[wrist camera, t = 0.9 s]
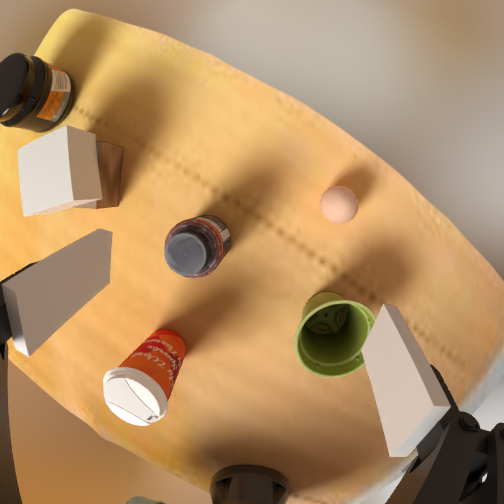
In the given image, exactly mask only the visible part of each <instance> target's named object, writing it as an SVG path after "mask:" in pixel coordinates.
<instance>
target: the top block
mask: <svg viewBox="0 0 504 504" xmlns="http://www.w3.org/2000/svg"><path fill="white" fill-rule="evenodd" d="M18 165H19V179H20V190H21V199H22V207H23V215H24V217H25V216H32V215H40V214H47V213H55V212H58V211H61V210H65V209H68V208H71V207H75V206H78V205H82V204H85V203H89V202H93V201H96V200H100V199H103V198H102V191H101V184H100V176H99V168H98V159H97V149H96V137H95V134H94V133H90V132H87V131H84V130H80V129H77V128H74V127H70V126H65V127H62V128H60V129H58V130H56V131H53V132H51V133H49V134H47V135H45V136H43V137H41V138H39V139H37V140H35V141H33V142H31V143H29V144H27V145H25V146H23V147H21V148H19V149H18Z"/></svg>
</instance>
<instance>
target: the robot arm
mask: <svg viewBox="0 0 504 504" xmlns="http://www.w3.org/2000/svg"><path fill="white" fill-rule="evenodd" d="M111 246H112V232H110V231H107V230H103V229H98V230H96V231H94V232H92V233H90V234H88V235H86V236H84V237H82V238H81V239H79V240H77V241H75V242H73V243H71V244H69V245H68V246H66V247H64V248H62V249H60V250H59V251H57V252H55V253H53V254H51V255H50V256H48V257H46V258H44V259H43V260H41V261H38V262H35V263H31V264H29V265H27V266H25V267H24V268H22V270H19V271H17V272H15V274H12V275H10V276H9V277H7V278H5V279H4V280H2V281H1V282H0V504H22V501H21V496H20V492H19V488H18V483H17V478H16V473H15V467H14V460H13V454H12V446H11V438H10V428H9V414H8V390H7V389H8V388H7V372H8V370H7V368H8V345H7V340H8V339H10V338H11V337H12V338H13V342H14V346H15V349H17V350H18V351H20V352H21V353H23V354H25V355H26V356H28V357H30V356H31V355H32V354H33V353H34V352H35V351H36V350H37V349H38V348H39V347H40V346H41V345H42V344H43V343H44V342H45V341H46V340H47V339H48V338H49V337H50V336H51V335H52V334H53V333H55V332H56V331H57V330H58V329H59V328H60V327H61V326H62V325H63V324H64V323H65V322H66V321H67V320H69V319H70V318H71V317H72V316H73V315H74V314H75V313H76V312H77V311H78V310H79V309H81V308H82V307H83V306H84V305H85V304H86V303H87V302H88V301H90V300H91V299H92V298H93V297H94V296H95V295H96V294H97V293H99V292H100V291H101V290H102V289H103V288H104V287H106V286H107V285H108V284H109V283H110V264H111ZM361 352H362V355H363V358H364V362H365V365H366V368H367V372H368V375H369V379H370V382H371V386H372V389H373V393H374V397H375V400H376V404H377V408H378V411H379V415H380V419H381V423H382V427H383V431H384V435H385V439H386V443H387V448H388V452H389V456H390V457H407V456H408V455H409V454H410V453H411V452H412V451H413V450H414V449H415V448H417V451H418V454H419V455H418V456H417V457H416V458H415V459H414V460H413V461H412V462H411V463H410V464H409V465H407V466H406V467H405V468H404V469H403V470H402V472H403V473H404V472H405V471H406V470H407V471H406V473H405V475H404V476H403V478H402V479H401V481H400V483H399V484H398V486H397V487H396V489H395V490H394V492H393V493H392V495H391V496H390V498H389V499H388V501H387V502H386V503H385V504H504V423H498V424H497V425H496V426H495V427H494V428H493V429H492V430H491V431H486V430H483V429H480V426H479V423H478V422H477V420H476V419H475V418H474V417H473V416H472V415H470V414H468V413H466V412H461V411H459V409H458V407H457V405H456V403H455V401H454V399H453V397H452V395H451V393H450V391H449V390H448V387H447V386H446V384H445V383H444V380H443V378H442V376H441V374H440V373H439V372H438V371H437V369H436V368H435V367H434V366H433V365H430V364H429V362H428V361H427V359H426V357H425V355H424V353H423V351H422V350H421V348H420V346H419V344H418V342H417V341H416V339H415V337H414V335H413V334H412V332H411V330H410V328H409V327H408V325H407V323H406V322H405V320H404V318H403V316H402V315H401V313H400V311H399V310H398V308H397V307H395V306H391V305H387V304H383V305H382V308H381V310H380V312H379V314H378V316H377V318H376V321H375V323H374V325H373V327H372V329H371V331H370V333H369V335H368V337H367V339H366V341H365V343H364V345H363V347H362V349H361ZM486 473H487V477H486V480H485V481H484V482H483V483H482V477H483V476H484V475H485V474H486ZM210 495H211V499H212V503H213V504H286V501H287V499H288V496H289V483H288V481H287V479H286V478H285V477H284V476H283V475H282V474H280V473H278V472H276V471H274V470H272V469H269V468H265V467H260V466H251V465H241V466H233V467H228V468H225V469H222V470H220V471H219V472H217V473H216V474H215V475H214V476H213V477H212V480H211V484H210ZM126 504H165V503H163V502H161V501H155V500H152V499H149V498H146V497H142V496H136V497H133V498H131V499H130V500H129V501H128V502H127V503H126Z"/></svg>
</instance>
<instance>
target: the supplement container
mask: <svg viewBox="0 0 504 504" xmlns="http://www.w3.org/2000/svg"><path fill="white" fill-rule="evenodd" d="M73 98H74V82H73V80H72V78H71V76H70V75H69V74H68V73H67V72H65V71H63V70H60V69H58V68H56V67H54V66H53V65H51V64H49V63H47V62H45V61H43V60H42V59H41V58H39V57H36V56H30V57H28V56H26V55H24V54H22V53H14V54H11V55H9V56H8V57H7V58H5V59H4V60H3V61H2V62H1V63H0V123H1V124H2V125H4V126H6V127H16V128H21V129H26V130H31V131H34V132H38V133H43V132H47V131H50V130H52V129H54V128H55V127H56V126H57V125H59V124H60V123H61V122H62V120H63V119H64V118H65V116H66V115H67V113H68V112H69V110H70V107H71V105H72V102H73Z"/></svg>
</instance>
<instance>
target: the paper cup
mask: <svg viewBox="0 0 504 504" xmlns="http://www.w3.org/2000/svg"><path fill="white" fill-rule="evenodd" d="M185 353H186V345H185V342H184V341H183V339H182V338H181V336H180V335H178V334H177V333H176V332H174V331H172V330H168V329H160V330H157V331H156V332H154V333H153V334H152V335H151V336H149V337H148V338H147V339H146V340H145V341H144V342H143V343H142V344H141V345H140V346H139V347H138V348H137V349H136V350H135V351H134V352H133V353H132V354H131V355H130V356H129V357H128V358H127V359H126V360H125V361H124V362H123V363H122V364H121V365H120V366H119V367H118V368H115V369H112V370H109V371H108V372H107V373H106V374H105V376H104V379H103V381H104V397H105V401H106V403H107V405H108V406H109V408H110V409H111V410H112V411H113V412H114V413H115V414H116V415H117V416H118V417H120V418H121V419H123V420H124V421H126V422H128V423H131V424H134V425H140V426H146V425H150V424H151V423H153V422H155V421H157V420H160V419H161V418H162V417H163V416H164V415H165V413H166V412H167V408H168V403H167V402H168V399H169V397H170V394H171V392H172V389H173V386H174V383H175V381H176V378H177V375H178V373H179V370H180V368H181V365H182V362H183V360H184V357H185Z"/></svg>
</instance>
